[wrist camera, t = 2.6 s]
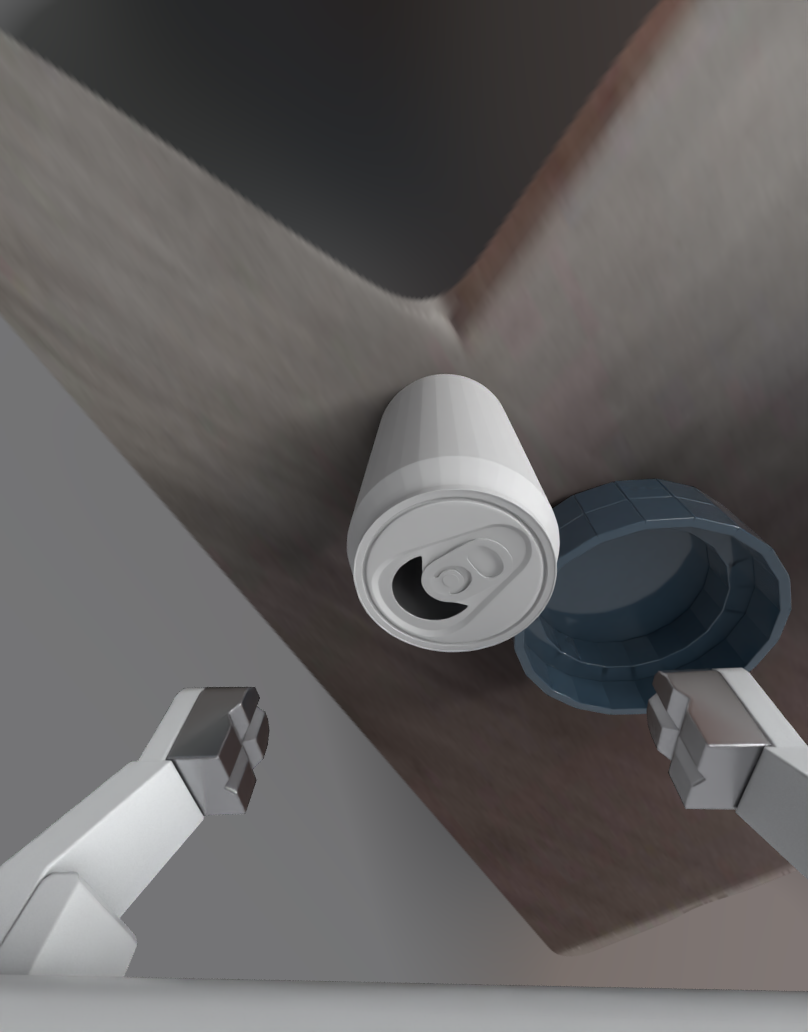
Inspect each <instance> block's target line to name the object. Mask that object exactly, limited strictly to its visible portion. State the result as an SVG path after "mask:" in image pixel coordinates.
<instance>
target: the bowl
mask: <svg viewBox="0 0 808 1032" xmlns="http://www.w3.org/2000/svg"><path fill="white" fill-rule="evenodd" d="M552 510H553V512H554V515H555V518H556V521H557V524H558V529H559V539H560V545H559V555H558V560H557V576H556V582H555V586H554V590H553V593H552V595H551V598H550V599H549V601H548V603H547V605H546V607H545V608H544V610H543V611H542V612H541V614H540V615H539V616H538V617H537V618H536V619H535V620H534V621H533V622H532V623H531V624H530V625H529V626H528V627H527V628H525V629H524V630H523V631H521V632H520V633H518V634H517V635H515V636H513V637H512V641H513V645H514V650H515V652H516V654H517V657H518V659H519V661H520V663H521V666H522V668H523V670H524V673H525V674H526V676H528V677H529V678H530V679H531V680H532V681H533V682H534V683H535V684H536V685H537V686H538V687H539V688H540V689H541V690H542V691H543V692H544V693H545V694H547V695H548V696H551V697H553V698H555V699H557V700H559V701H561V702H563V703H565V704H568V705H570V706H572V707H574V708H577V709H582V710H587V711H593V712H598V713H603V714H608V715H609V714H610V715H623V714H647V712H646V711H647V705H648V700H649V699H650V698H651V697H652V696H654V695H655V694H656V691H655V689H654V687H653V685H652V683H653V679H654V675H655V674H656V673H657V672H658V671H666V670H686V669H706V668H710V669H717V668H743V669H745V670H746V671H748V672H750V671H751V670H753V669H754V668H755V667H756V666H757V665H758V663H759V662H760V661H761V660H762V659H763V658H764V657H765V655H766V654H767V653H768V652H769V651H770V650H771V649H772V647H773V646H774V645H775V644H776V643H777V642H778V640H779V639H780V636H781V634H782V631H783V629H784V627H785V624H786V622H787V619H788V617H789V614H790V612H791V586H790V576H789V574H788V572H787V571H786V569H785V568H784V566H783V564H782V563H781V561H780V559H779V558H778V556H777V554H776V553H775V551H774V550H773V548H772V547H771V546H770V545H768V544H767V543H766V542H765V541H764V540H763V539H762V538H760V537H759V536H758V535H757V534H756V533H755V532H753V531H752V530H751V529H750V528H749V527H748V526H746V525H745V524H744V523H743V522H742V521H741V520H739V519H738V518H737V517H736V516H735V515H734V514H733V513H731V512H730V511H729V510H728V509H727V508H726V507H724V506H723V505H722V504H720V503H719V502H717V501H716V500H714V499H713V498H711V497H709V496H708V495H706V494H705V493H703V492H702V491H700V490H699V489H697V488H696V487H693V486H688V485H684V484H679V483H675V482H671V481H666V480H662V479H641V480H627V481H615V482H610V483H607V484H604V485H601V486H598V487H595V488H592V489H590V490H587V491H584V492H581V493H578V494H575V495H574V496H573V495H572V496H571V497H569V498H567V499H566V500H564V501H563V502H561V503H560V504H558V505H557V506H555V507H554V508H552Z"/></svg>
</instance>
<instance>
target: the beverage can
mask: <svg viewBox="0 0 808 1032" xmlns="http://www.w3.org/2000/svg"><path fill="white" fill-rule="evenodd" d="M559 545H560V539H559V529H558V524H557V521H556V518H555V515H554V512H553V510H552V508H551V506H550V504H549V502H548V500H547V497H546V495H545V493H544V491H543V489H542V487H541V485H540V483H539V481H538V479H537V477H536V475H535V473H534V471H533V469H532V467H531V464H530V462H529V460H528V458H527V456H526V454H525V452H524V450H523V448H522V446H521V444H520V442H519V440H518V438H517V436H516V434H515V431H514V429H513V427H512V425H511V423H510V421H509V419H508V417H507V415H506V413H505V411H504V409H503V407H502V405H501V404H500V402H499V400H498V399H497V398H496V397H495V396H494V395H493V393H492V392H491V391H489V390H488V389H487V388H486V387H484V386H483V385H482V384H480V383H478V382H476V381H474V380H472V379H469V378H467V377H463V376H459V375H453V374H438V375H432V376H427V377H424V378H421V379H419V380H416V381H414V382H412V383H411V384H409V385H407V386H406V387H405V388H403V389H402V390H401V391H400V392H399V393H398V394H397V395H396V396H395V397H394V398H393V399H392V400H391V402H390V403H389V405H388V406H387V408H386V409H385V411H384V414H383V416H382V419H381V422H380V425H379V428H378V432H377V435H376V439H375V442H374V445H373V449H372V452H371V455H370V459H369V462H368V465H367V469H366V472H365V475H364V479H363V482H362V485H361V489H360V492H359V495H358V499H357V502H356V505H355V509H354V512H353V516H352V519H351V522H350V526H349V530H348V535H347V555H348V559H349V563H350V567H351V570H352V574H353V579H354V584H355V588H356V591H357V595H358V598H359V600H360V602H361V604H362V606H363V607H364V609H365V611H366V612H367V614H368V615H369V616H370V617H371V618H372V619H373V621H374V622H375V623H376V624H377V625H379V626H380V627H381V628H382V629H383V630H385V631H386V632H387V633H389V634H390V635H392V636H394V637H395V638H397V639H399V640H401V641H403V642H405V643H408V644H411V645H413V646H416V647H420V648H423V649H428V650H433V651H441V652H466V651H474V650H479V649H483V648H487V647H491V646H494V645H497V644H499V643H501V642H504V641H506V640H508V639H510V638H512V637H513V636H515V635H517V634H518V633H520V632H521V631H523V630H524V629H525V628H527V627H528V626H529V625H530V624H531V623H532V622H533V621H534V620H535V619H536V618H537V617H538V616H539V615H540V614H541V612H542V611H543V610H544V608H545V607H546V605H547V603H548V601H549V599H550V598H551V595H552V593H553V590H554V586H555V582H556V576H557V560H558V555H559Z"/></svg>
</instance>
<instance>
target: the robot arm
mask: <svg viewBox="0 0 808 1032" xmlns="http://www.w3.org/2000/svg"><path fill="white" fill-rule="evenodd" d="M652 685H653V687H654V689H655V691H656V694H655V695H654V696H652V697H651V698H650V699H649V700H648V705H647V711H646V712H647V721H648V727H649V730H650V734H651V737H652V739H653V741H654V743H655V746H656V748H657V750H658V751H660V752H661V753H662V754H663V755H665V756H666V757H667V758H668V759H670V760H671V763H670V767H669V771H668V773H669V775H670V778H671V780H672V782H673V784H674V786H675V788H676V790H677V792H678V794H679V796H680V798H681V800H682V803H683V805H684V807H685V809H736V811H735V812H736V813H737V814H738V815H739V816H740V817H741V818H742V819H743V820H744V821H745V822H746V823H748V824H749V825H750V826H751V827H752V828H753V829H754V830H755V831H756V832H757V833H758V834H759V835H760V836H762V837H763V838H764V839H765V840H766V841H767V842H768V843H769V844H770V845H771V846H772V847H773V848H774V849H776V850H777V851H778V852H779V853H780V854H781V855H782V856H783V857H784V858H785V859H786V860H787V861H788V862H790V863H791V864H792V865H793V866H794V867H795V868H796V869H797V870H798V871H799V872H800V873H801V874H802V875H804V876H805V877H806V878H807V879H808V746H807V745H806V744H805V742H804V741H803V740H802V739H801V737H800V736H799V735H798V734H797V732H796V731H795V730H794V729H793V727H792V726H791V725H790V723H789V722H788V721H787V720H786V718H785V717H784V716H783V715H782V713H781V712H780V711H779V710H778V708H777V707H776V706H775V705H774V703H773V702H772V701H771V700H770V698H769V697H768V696H767V694H766V693H765V692H764V691H763V689H762V688H761V687H760V686H759V684H758V683H757V682H756V681H755V679H754V678H753V677H752V676H751V674H750V673H749V672H748V671H746V670H745V669H743V668H717V669H710V668H706V669H686V670H666V671H658V672H657V673H656V674H655V675H654V679H653V683H652ZM259 699H260V697H259V695H258V693H257V691H256V688H255V687H206V688H183V689H182V690H181V691H180V692H179V693H177V695H176V696H175V698H174V699H173V701H172V703H171V705H170V706H169V708H168V710H167V712H166V713H165V715H164V717H163V718H162V720H161V722H160V724H159V726H158V727H157V729H156V730H155V732H154V734H153V736H152V737H151V739H150V741H149V743H148V744H147V746H146V748H145V750H144V751H143V753H142V755H141V756H140V758H139V760H138V761H131V762H129V763H128V764H127V765H126V766H124V767H123V768H122V769H121V770H120V771H118V772H117V773H116V774H114V775H113V776H112V777H111V778H109V779H108V780H107V781H106V782H105V783H103V784H102V785H101V786H99V787H98V788H97V789H96V790H94V791H93V792H92V793H91V794H89V795H88V796H87V797H86V798H85V799H83V800H82V801H81V802H79V803H78V804H77V805H76V806H74V807H73V808H72V809H71V810H69V811H68V812H67V813H66V814H65V815H63V816H62V817H61V818H60V819H58V820H57V821H56V822H55V823H53V824H52V825H51V826H50V827H48V828H47V829H46V830H45V831H43V832H42V833H41V834H40V835H38V836H37V837H36V838H35V839H33V840H32V841H31V842H30V843H28V844H27V845H26V846H25V847H23V848H22V849H21V850H20V851H18V852H17V853H16V854H15V855H13V856H12V857H11V858H10V859H8V860H7V861H6V862H5V863H3V864H2V865H1V866H0V1032H808V991H766V990H718V989H670V988H624V987H576V986H575V987H574V986H573V987H572V986H525V985H481V984H433V983H385V982H338V981H337V982H336V981H335V982H334V981H291V980H287V981H286V980H243V979H242V980H240V979H194V978H146V977H124V976H125V973H126V971H127V968H128V966H129V964H130V961H131V958H132V956H133V954H134V951H135V949H136V946H137V940H136V936H135V934H134V933H133V932H132V931H131V930H130V929H129V928H128V927H127V926H126V925H125V923H124V922H123V921H122V920H121V919H120V917H121V916H122V914H123V913H124V912H125V911H126V910H127V909H128V907H129V906H130V905H131V904H132V903H133V901H134V900H135V899H136V898H137V897H138V895H139V894H140V893H141V892H142V891H143V890H144V889H145V887H146V886H147V885H148V884H149V883H150V882H151V880H152V879H153V878H154V877H155V876H156V874H157V873H158V872H159V871H160V870H161V868H162V867H163V866H164V865H165V864H166V863H167V862H168V860H169V859H170V858H171V857H172V856H173V855H174V853H175V852H176V851H177V850H178V849H179V847H180V846H181V845H182V844H183V843H184V841H185V840H186V839H187V838H188V837H189V836H190V834H191V833H192V832H193V831H194V830H195V829H196V827H197V826H198V825H199V824H200V823H201V822H202V820H203V819H204V816H207V815H229V814H245V813H246V810H247V807H248V804H249V801H250V798H251V795H252V792H253V789H254V786H255V783H256V777H255V775H254V772H253V769H254V768H255V767H256V766H257V764H259V763H260V762H261V761H262V760H263V758H264V755H265V752H266V749H267V745H268V737H269V724H268V718H267V716H266V713H265V711H263V710H262V709H260V708H259V707H258V706H257V704H258V701H259Z"/></svg>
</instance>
